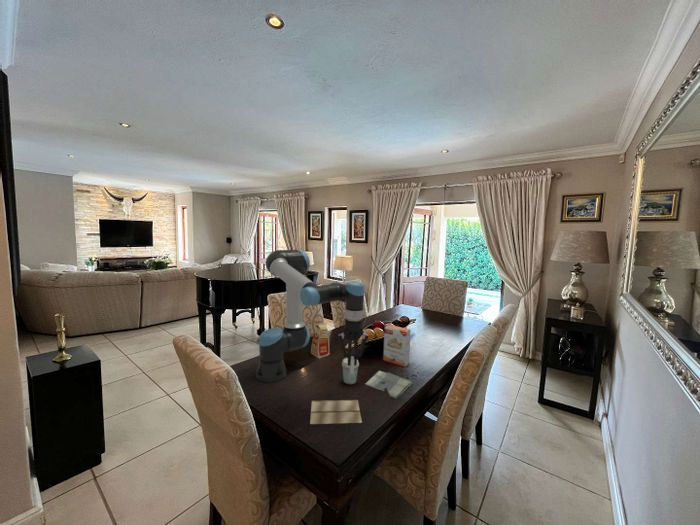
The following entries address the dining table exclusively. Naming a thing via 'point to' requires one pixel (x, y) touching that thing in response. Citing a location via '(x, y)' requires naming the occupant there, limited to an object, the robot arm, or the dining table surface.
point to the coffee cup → (346, 372)
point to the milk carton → (320, 341)
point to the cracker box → (396, 345)
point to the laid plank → (335, 417)
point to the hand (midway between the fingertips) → (351, 372)
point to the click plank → (335, 405)
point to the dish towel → (389, 383)
